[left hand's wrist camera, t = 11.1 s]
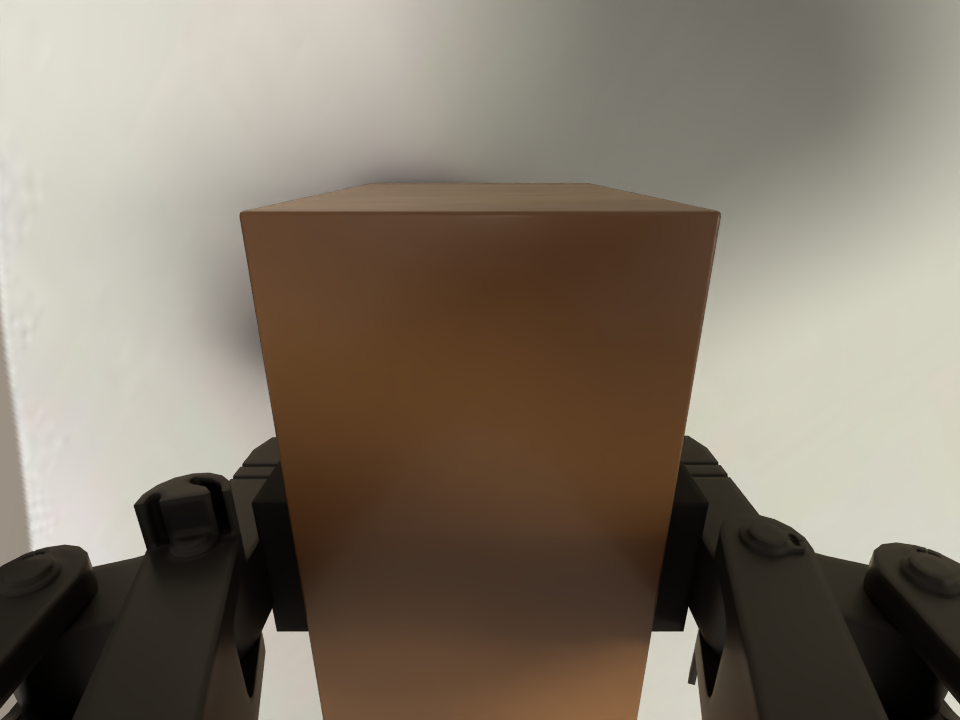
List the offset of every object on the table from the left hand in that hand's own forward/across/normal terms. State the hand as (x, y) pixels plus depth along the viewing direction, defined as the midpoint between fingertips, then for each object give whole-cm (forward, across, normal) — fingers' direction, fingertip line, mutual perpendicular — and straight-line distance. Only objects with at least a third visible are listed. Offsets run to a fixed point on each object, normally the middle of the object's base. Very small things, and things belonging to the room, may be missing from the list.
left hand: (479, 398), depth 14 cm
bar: (+1, 0, -36) cm, 36 cm away
